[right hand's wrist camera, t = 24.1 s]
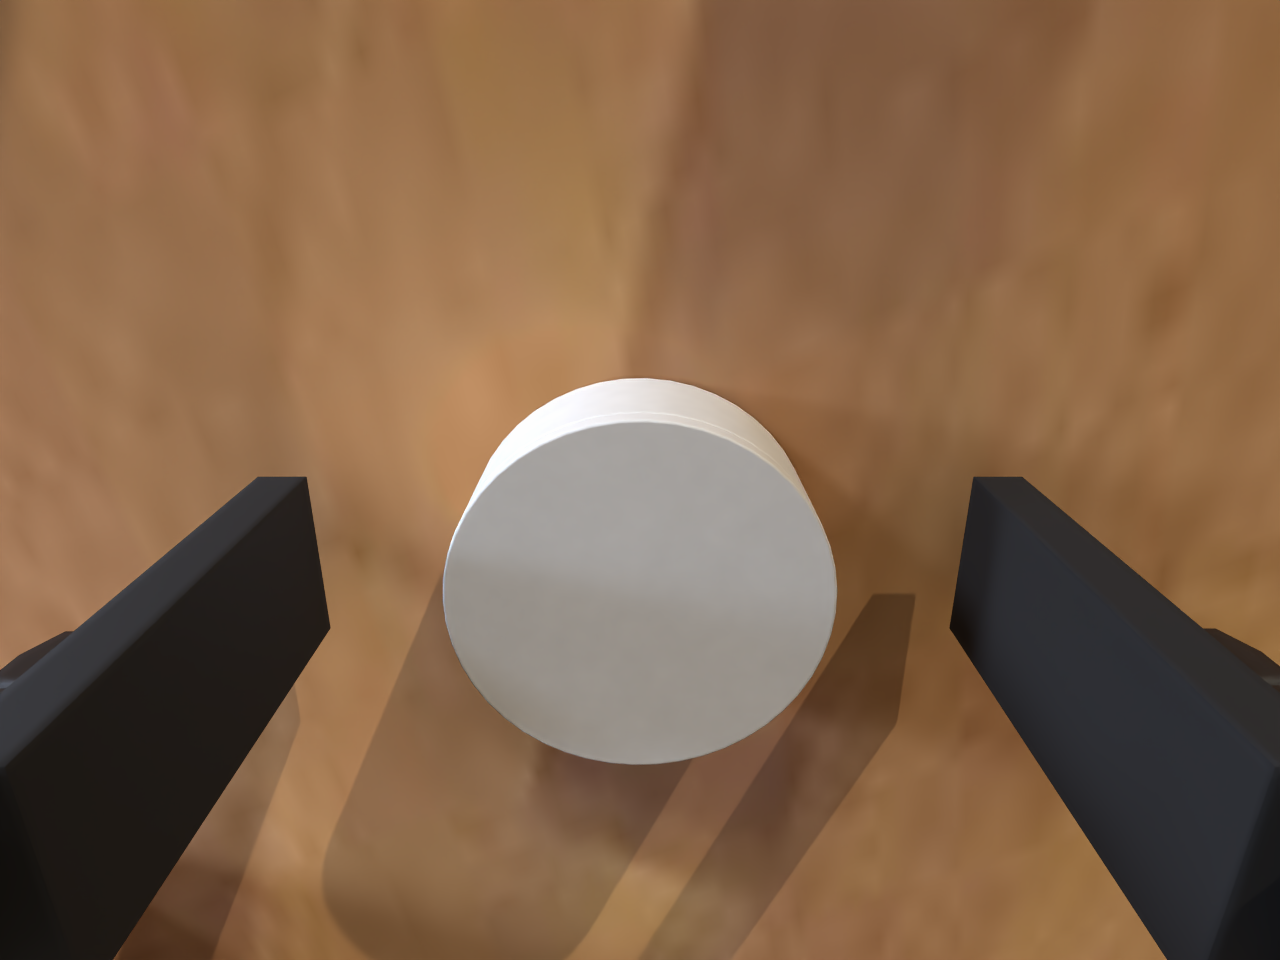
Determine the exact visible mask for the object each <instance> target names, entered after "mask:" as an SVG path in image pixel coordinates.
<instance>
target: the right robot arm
mask: <svg viewBox="0 0 1280 960" xmlns="http://www.w3.org/2000/svg"><path fill="white" fill-rule="evenodd" d="M329 630H330V622H329V616H328V610H327V603H326V597H325V591H324V584H323V578H322V572H321V565H320V559H319V553H318V546H317V540H316V534H315V528H314V521H313V515H312V509H311V502H310V496H309V490H308V483H307V477H257V478H256V479H255V480H254V481H252V482H251V483H250V484H249V485H248V486H246V487H245V488H244V489H243V490H242V491H240V492H239V493H238V494H237V495H236V496H235V497H233V498H232V499H231V500H230V501H229V502H227V503H226V504H225V505H224V506H223V507H221V508H220V509H219V510H218V511H217V512H215V513H214V514H213V515H212V516H211V517H210V518H208V519H207V520H206V521H205V522H204V523H202V524H201V525H200V526H199V527H198V528H196V529H195V530H194V531H193V532H192V533H190V534H189V535H188V536H187V537H186V538H184V539H183V540H182V541H181V542H180V543H179V544H177V545H176V546H175V547H174V548H173V549H171V550H170V551H169V552H168V553H167V554H165V555H164V556H163V557H162V558H161V559H159V560H158V561H157V562H156V563H155V564H153V565H152V566H151V567H150V568H149V569H148V570H146V571H145V572H144V573H143V574H142V575H140V576H139V577H138V578H137V579H136V580H134V581H133V582H132V583H131V584H130V585H128V586H127V587H126V588H125V589H124V590H122V591H121V592H120V593H119V594H118V595H117V596H115V597H114V598H113V599H112V600H111V601H109V602H108V603H107V604H106V605H105V606H103V607H102V608H101V609H100V610H99V611H97V612H96V613H95V614H94V615H93V616H91V617H90V618H89V619H88V620H87V621H86V622H84V623H83V624H82V625H81V626H80V627H78V628H77V629H76V630H75V631H65V632H63V633H61V634H59V635H57V636H56V637H54V638H52V639H50V640H48V641H46V642H44V643H42V644H40V645H38V646H36V647H34V648H32V649H30V650H28V651H26V652H24V653H22V654H20V655H19V656H17V657H16V658H15V659H14V660H12V661H11V662H10V663H9V664H7V665H6V666H5V667H4V668H3V669H1V670H0V960H113V959H114V957H115V956H116V954H117V953H118V951H119V950H120V948H121V946H122V945H123V943H124V942H125V940H126V939H127V937H128V936H129V934H130V933H131V931H132V930H133V928H134V927H135V925H136V924H137V922H138V921H139V919H140V918H141V916H142V914H143V913H144V911H145V910H146V908H147V907H148V905H149V904H150V902H151V901H152V899H153V898H154V896H155V895H156V893H157V892H158V890H159V889H160V887H161V886H162V884H163V882H164V881H165V879H166V878H167V876H168V875H169V873H170V872H171V870H172V869H173V867H174V866H175V864H176V863H177V861H178V860H179V858H180V857H181V855H182V854H183V852H184V850H185V849H186V847H187V846H188V844H189V843H190V841H191V840H192V838H193V837H194V835H195V834H196V832H197V831H198V829H199V828H200V826H201V825H202V823H203V822H204V820H205V818H206V817H207V815H208V814H209V812H210V811H211V809H212V808H213V806H214V805H215V803H216V802H217V800H218V799H219V797H220V796H221V794H222V793H223V791H224V790H225V788H226V786H227V785H228V783H229V782H230V780H231V779H232V777H233V776H234V774H235V773H236V771H237V770H238V768H239V767H240V765H241V764H242V762H243V761H244V759H245V758H246V756H247V754H248V753H249V751H250V750H251V748H252V747H253V745H254V744H255V742H256V741H257V739H258V738H259V736H260V735H261V733H262V732H263V730H264V729H265V727H266V726H267V724H268V722H269V721H270V719H271V718H272V716H273V715H274V713H275V712H276V710H277V709H278V707H279V706H280V704H281V703H282V701H283V700H284V698H285V697H286V695H287V694H288V692H289V690H290V689H291V687H292V686H293V684H294V683H295V681H296V680H297V678H298V677H299V675H300V674H301V672H302V671H303V669H304V668H305V666H306V665H307V663H308V662H309V660H310V658H311V657H312V655H313V654H314V652H315V651H316V649H317V648H318V646H319V645H320V643H321V642H322V640H323V639H324V637H325V636H326V634H327V633H328V631H329ZM950 630H951V631H952V633H953V634H954V636H955V637H956V639H957V640H958V642H959V643H960V645H961V646H962V648H963V649H964V651H965V652H966V654H967V655H968V657H969V658H970V660H971V662H972V663H973V665H974V666H975V668H976V669H977V671H978V672H979V674H980V675H981V677H982V678H983V680H984V681H985V683H986V684H987V686H988V687H989V689H990V690H991V692H992V694H993V695H994V697H995V698H996V700H997V701H998V703H999V704H1000V706H1001V707H1002V709H1003V710H1004V712H1005V713H1006V715H1007V716H1008V718H1009V719H1010V721H1011V722H1012V724H1013V726H1014V727H1015V729H1016V730H1017V732H1018V733H1019V735H1020V736H1021V738H1022V739H1023V741H1024V742H1025V744H1026V745H1027V747H1028V748H1029V750H1030V751H1031V753H1032V754H1033V756H1034V758H1035V759H1036V761H1037V762H1038V764H1039V765H1040V767H1041V768H1042V770H1043V771H1044V773H1045V774H1046V776H1047V777H1048V779H1049V780H1050V782H1051V783H1052V785H1053V786H1054V788H1055V790H1056V791H1057V793H1058V794H1059V796H1060V797H1061V799H1062V800H1063V802H1064V803H1065V805H1066V806H1067V808H1068V809H1069V811H1070V812H1071V814H1072V815H1073V817H1074V818H1075V820H1076V822H1077V823H1078V825H1079V826H1080V828H1081V829H1082V831H1083V832H1084V834H1085V835H1086V837H1087V838H1088V840H1089V841H1090V843H1091V844H1092V846H1093V847H1094V849H1095V850H1096V852H1097V854H1098V855H1099V857H1100V858H1101V860H1102V861H1103V863H1104V864H1105V866H1106V867H1107V869H1108V870H1109V872H1110V873H1111V875H1112V876H1113V878H1114V879H1115V881H1116V882H1117V884H1118V886H1119V887H1120V889H1121V890H1122V892H1123V893H1124V895H1125V896H1126V898H1127V899H1128V901H1129V902H1130V904H1131V905H1132V907H1133V908H1134V910H1135V911H1136V913H1137V914H1138V916H1139V918H1140V919H1141V921H1142V922H1143V924H1144V925H1145V927H1146V928H1147V930H1148V931H1149V933H1150V934H1151V936H1152V937H1153V939H1154V940H1155V942H1156V943H1157V945H1158V946H1159V948H1160V950H1161V951H1162V953H1163V954H1164V956H1165V957H1166V959H1167V960H1280V666H1279V665H1277V664H1276V663H1275V662H1274V661H1272V660H1271V659H1270V658H1269V657H1267V656H1266V655H1265V654H1264V653H1262V652H1261V651H1259V650H1257V649H1255V648H1253V647H1251V646H1249V645H1247V644H1245V643H1243V642H1241V641H1239V640H1237V639H1235V638H1233V637H1231V636H1229V635H1227V634H1225V633H1223V632H1221V631H1219V630H1217V629H1203V628H1202V627H1200V626H1199V625H1198V624H1197V623H1196V622H1194V621H1193V620H1192V619H1191V618H1190V617H1189V616H1187V615H1186V614H1185V613H1184V612H1183V611H1181V610H1180V609H1179V608H1178V607H1177V606H1175V605H1174V604H1173V603H1172V602H1171V601H1169V600H1168V599H1167V598H1166V597H1165V596H1163V595H1162V594H1161V593H1160V592H1159V591H1158V590H1156V589H1155V588H1154V587H1153V586H1152V585H1150V584H1149V583H1148V582H1147V581H1146V580H1144V579H1143V578H1142V577H1141V576H1140V575H1138V574H1137V573H1136V572H1135V571H1134V570H1132V569H1131V568H1130V567H1129V566H1128V565H1127V564H1125V563H1124V562H1123V561H1122V560H1121V559H1119V558H1118V557H1117V556H1116V555H1115V554H1113V553H1112V552H1111V551H1110V550H1109V549H1107V548H1106V547H1105V546H1104V545H1103V544H1101V543H1100V542H1099V541H1098V540H1097V539H1096V538H1094V537H1093V536H1092V535H1091V534H1090V533H1088V532H1087V531H1086V530H1085V529H1084V528H1082V527H1081V526H1080V525H1079V524H1078V523H1076V522H1075V521H1074V520H1073V519H1072V518H1070V517H1069V516H1068V515H1067V514H1066V513H1065V512H1063V511H1062V510H1061V509H1060V508H1059V507H1057V506H1056V505H1055V504H1054V503H1053V502H1051V501H1050V500H1049V499H1048V498H1047V497H1045V496H1044V495H1043V494H1042V493H1041V492H1040V491H1038V490H1037V489H1036V488H1035V487H1034V486H1032V485H1031V484H1030V483H1029V482H1028V481H1026V480H1025V479H1024V478H1023V477H973V483H972V490H971V496H970V502H969V509H968V515H967V521H966V528H965V534H964V540H963V546H962V553H961V559H960V565H959V572H958V578H957V584H956V591H955V597H954V603H953V609H952V616H951V622H950Z"/></svg>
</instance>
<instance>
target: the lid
mask: <svg viewBox="0 0 1280 960" xmlns="http://www.w3.org/2000/svg"><path fill="white" fill-rule="evenodd" d="M836 602H837V581H836V568H835V564H834V559H833V555H832V551H831V547H830V544H829V541H828V539H827V536H826V534H825V531H824V529H823V526H822V524H821V522H820V519H819V517H818V515H817V514H816V511H815V509H814V507H813V505H812V503H811V501H810V499H809V497H808V495H807V493H806V491H805V489H804V487H803V485H802V483H801V481H800V479H799V477H798V475H797V473H796V471H795V469H794V467H793V465H792V464H791V462H790V460H789V458H788V457H787V455H786V453H785V452H784V450H783V449H782V448H781V446H780V445H779V444H778V443H777V441H776V440H775V439H774V438H773V436H772V435H771V434H770V433H769V432H768V431H767V430H766V429H765V428H764V427H763V426H762V425H761V424H760V423H759V422H758V421H757V420H756V419H754V418H753V417H752V416H750V415H749V414H748V413H746V412H745V411H743V410H742V409H741V408H739V407H738V406H736V405H735V404H733V403H731V402H729V401H727V400H725V399H723V398H722V397H720V396H718V395H716V394H713V393H711V392H708V391H705V390H703V389H700V388H697V387H695V386H691V385H687V384H683V383H678V382H674V381H669V380H659V379H649V378H639V379H619V380H613V381H606V382H600V383H596V384H593V385H589V386H586V387H583V388H579V389H576V390H574V391H571V392H569V393H567V394H565V395H562V396H560V397H558V398H555V399H554V400H552V401H550V402H549V403H547V404H546V405H544V406H542V407H541V408H539V409H537V410H536V411H534V412H533V413H532V414H531V415H529V416H528V417H527V418H526V419H525V420H523V421H522V422H521V423H520V424H518V425H517V426H516V427H515V429H514V430H513V431H512V432H511V433H510V434H509V435H508V436H507V437H506V438H505V439H504V440H503V442H502V443H501V444H500V446H499V447H498V449H497V450H496V452H495V453H494V454H493V456H492V457H491V459H490V461H489V463H488V465H487V467H486V469H485V471H484V473H483V475H482V477H481V479H480V481H479V483H478V485H477V487H476V489H475V491H474V493H473V495H472V497H471V499H470V501H469V504H468V506H467V508H466V510H465V512H464V514H463V516H462V518H461V520H460V522H459V524H458V526H457V528H456V530H455V532H454V535H453V538H452V542H451V545H450V548H449V551H448V554H447V558H446V564H445V570H444V576H443V605H444V613H445V620H446V625H447V629H448V632H449V636H450V639H451V643H452V646H453V648H454V650H455V652H456V654H457V657H458V659H459V661H460V663H461V666H462V667H463V669H464V670H465V672H466V674H467V675H468V677H469V678H470V680H471V682H472V683H473V685H474V686H475V687H476V688H477V690H478V691H479V692H480V693H481V695H482V696H483V697H484V698H485V699H486V701H487V702H488V703H489V704H490V705H491V706H492V707H493V708H495V709H496V710H497V711H498V712H499V713H500V714H501V715H502V716H503V717H504V718H505V719H507V720H508V721H510V722H511V723H512V724H514V725H515V726H516V727H518V728H519V729H520V730H522V731H523V732H525V733H527V734H529V735H530V736H532V737H534V738H536V739H537V740H539V741H541V742H543V743H545V744H547V745H550V746H552V747H554V748H557V749H559V750H561V751H564V752H567V753H570V754H573V755H577V756H580V757H583V758H586V759H592V760H597V761H602V762H608V763H617V764H629V765H648V764H663V763H671V762H678V761H683V760H688V759H692V758H696V757H700V756H704V755H707V754H709V753H712V752H715V751H718V750H721V749H723V748H726V747H728V746H730V745H732V744H734V743H736V742H738V741H740V740H742V739H744V738H746V737H748V736H749V735H751V734H753V733H754V732H756V731H757V730H759V729H760V728H762V727H764V726H765V725H766V724H768V723H769V722H770V721H771V720H773V719H774V718H775V717H776V716H777V715H779V714H780V713H781V712H782V711H783V710H784V709H785V708H786V707H787V706H788V705H789V704H790V703H791V702H792V701H793V700H794V699H795V698H796V697H797V696H798V695H799V693H800V692H801V691H802V689H803V688H804V687H805V685H806V684H807V682H808V681H809V680H810V678H811V677H812V675H813V674H814V672H815V670H816V668H817V666H818V664H819V663H820V661H821V659H822V657H823V655H824V652H825V649H826V647H827V644H828V641H829V639H830V636H831V632H832V628H833V623H834V619H835V614H836Z"/></svg>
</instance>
